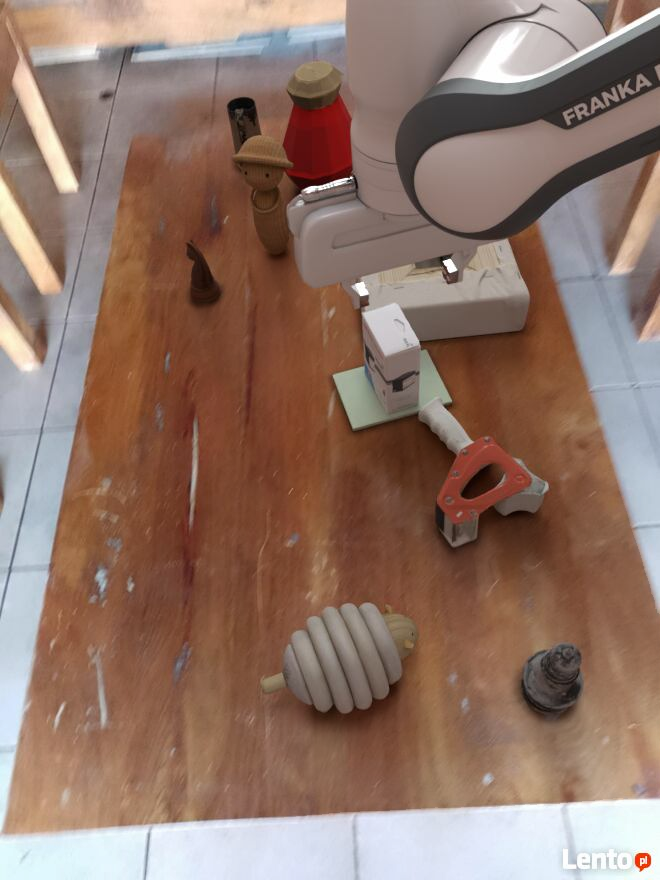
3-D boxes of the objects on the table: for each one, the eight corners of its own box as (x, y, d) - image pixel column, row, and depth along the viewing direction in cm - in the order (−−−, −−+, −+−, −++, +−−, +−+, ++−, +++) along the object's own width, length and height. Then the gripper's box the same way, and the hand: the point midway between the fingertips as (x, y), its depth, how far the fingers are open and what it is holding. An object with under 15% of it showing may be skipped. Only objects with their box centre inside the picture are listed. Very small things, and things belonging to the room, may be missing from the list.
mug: (237, 153, 134) (224, 91, 124) (266, 150, 134) (256, 88, 124) (235, 179, 130) (222, 117, 120) (265, 176, 129) (255, 113, 120)
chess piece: (209, 279, 115) (194, 228, 107) (228, 294, 112) (215, 244, 104) (186, 294, 113) (169, 243, 105) (204, 310, 111) (189, 259, 103)
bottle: (323, 147, 133) (313, 36, 117) (380, 172, 127) (378, 59, 111) (265, 191, 127) (246, 80, 111) (322, 219, 121) (311, 106, 105)
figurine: (244, 262, 116) (220, 151, 100) (259, 233, 120) (237, 122, 104) (297, 269, 115) (281, 157, 98) (310, 239, 118) (296, 127, 102)
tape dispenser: (424, 411, 98) (385, 532, 86) (424, 384, 94) (383, 508, 82) (556, 434, 93) (534, 566, 82) (563, 407, 89) (539, 542, 78)
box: (527, 332, 103) (479, 195, 122) (535, 293, 97) (483, 154, 115) (367, 353, 104) (343, 213, 122) (364, 316, 97) (340, 174, 116)
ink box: (363, 371, 100) (359, 310, 91) (396, 361, 101) (396, 299, 91) (386, 416, 96) (384, 357, 86) (420, 405, 96) (422, 345, 87)
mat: (426, 351, 102) (426, 349, 102) (452, 403, 97) (452, 401, 96) (332, 377, 101) (332, 374, 101) (353, 431, 95) (353, 428, 95)
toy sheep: (438, 685, 76) (444, 650, 66) (293, 761, 72) (278, 735, 63) (391, 601, 81) (390, 558, 72) (254, 668, 78) (235, 631, 69)
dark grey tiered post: (517, 658, 77) (534, 616, 67) (573, 663, 76) (599, 621, 66) (519, 715, 73) (537, 680, 63) (578, 720, 72) (606, 686, 63)
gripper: (292, 218, 55) (311, 341, 66) (539, 156, 57) (517, 286, 68) (273, 172, 59) (294, 296, 70) (506, 115, 61) (490, 245, 72)
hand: (406, 291), depth 69 cm, fingers open, 8 cm apart
